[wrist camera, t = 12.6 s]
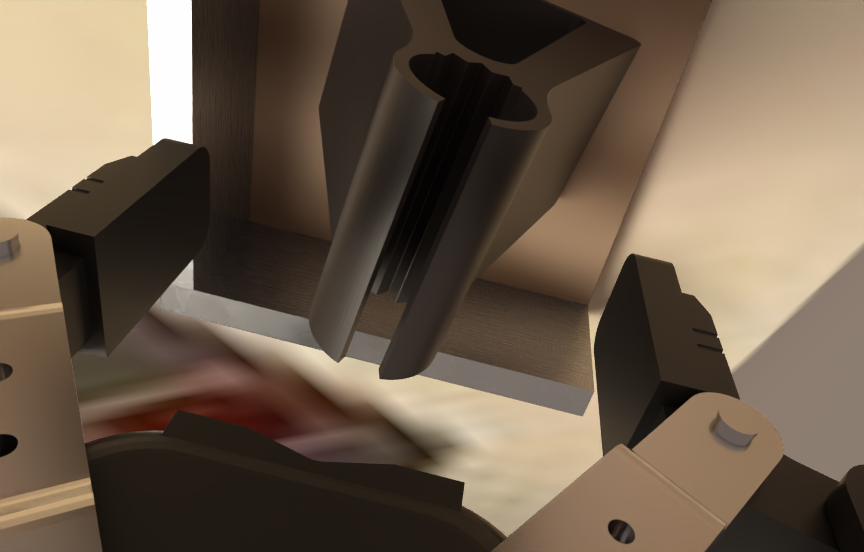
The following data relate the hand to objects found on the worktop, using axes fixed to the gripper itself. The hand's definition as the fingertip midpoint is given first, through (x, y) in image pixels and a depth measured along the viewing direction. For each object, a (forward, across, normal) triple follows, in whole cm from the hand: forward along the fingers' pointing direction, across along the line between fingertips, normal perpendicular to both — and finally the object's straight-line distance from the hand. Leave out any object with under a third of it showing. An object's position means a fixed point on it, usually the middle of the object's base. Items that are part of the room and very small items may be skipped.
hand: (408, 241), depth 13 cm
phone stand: (+12, 0, 0) cm, 12 cm away
